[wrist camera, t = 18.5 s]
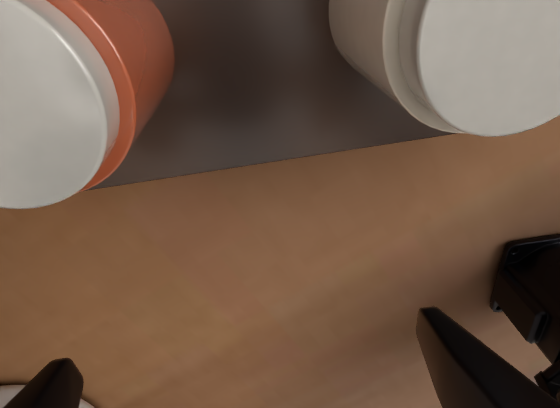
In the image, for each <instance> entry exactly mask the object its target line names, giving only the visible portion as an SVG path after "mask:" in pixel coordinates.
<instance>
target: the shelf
mask: <svg viewBox="0 0 560 408" xmlns="http://www.w3.org/2000/svg"><path fill="white" fill-rule="evenodd" d="M152 1H153V3H154V4H155V5H156V7H157V8H158V9H159V11H160V13H161V14H162V16H163V18H164V20H165V22H166V24H167V26H168V29H169V31H170V34H171V38H172V41H173V46H174V55H175V67H174V74H173V79H172V82H171V85H170V87H169V89H168V91H167V93H166V95H165V96H164V98H163V100H162V101H161V103H160V104H159V106H158V107H157V109H156V111H155V112H154V114H153V115H152V117H151V118H150V120H149V121H148V123H147V125H146V126H145V128H144V129H143V131H142V132H141V134H140V136H139V137H138V139H137V140H136V142H135V143H134V145H133V146H132V148H131V150H130V151H129V153H128V154H127V156H126V157H125V159H124V160H123V162H122V163H121V164H120V166H119V167H118V168H117V169H116V170H115V171H114V172H113V173H112V174H111V175H110V176H109V177H108V178H106V179H105V180H104V181H102V182H101V183H99V184H97V185H95V186H93V187H91V188H90V189H87V190H92V189H98V188H105V187H111V186H118V185H125V184H131V183H138V182H144V181H151V180H157V179H164V178H170V177H177V176H183V175H190V174H196V173H203V172H209V171H216V170H222V169H229V168H235V167H242V166H248V165H255V164H261V163H268V162H274V161H281V160H287V159H294V158H300V157H307V156H313V155H320V154H326V153H333V152H339V151H346V150H352V149H359V148H365V147H372V146H378V145H385V144H391V143H398V142H404V141H411V140H417V139H424V138H430V137H437V136H443V135H450V134H456V133H451V132H445V131H440V130H438V129H435V128H432V127H429V126H427V125H425V124H424V123H422V122H420V121H418V120H417V119H416V118H414V117H413V116H412V115H410V114H409V113H408V112H407V111H406V110H404V109H403V108H402V107H401V106H399V105H398V104H397V103H396V102H394V101H393V100H392V99H391V98H390V97H388V96H387V95H386V94H385V93H383V92H382V91H381V90H380V89H378V88H377V87H376V86H375V85H373V84H372V83H371V82H370V81H369V80H367V79H366V78H365V77H364V76H362V75H361V74H360V73H359V72H357V71H356V70H355V69H354V68H353V67H351V66H350V65H349V64H348V63H347V62H346V61H345V59H344V58H343V57H342V55H341V54H340V53H339V51H338V49H337V47H336V45H335V43H334V40H333V37H332V34H331V29H330V24H329V0H152ZM84 191H85V190H84Z"/></svg>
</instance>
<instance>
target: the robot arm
mask: <svg viewBox="0 0 560 408" xmlns="http://www.w3.org/2000/svg"><path fill="white" fill-rule="evenodd" d="M490 307H491V309H492V310H493V311H494V312H502V311H503V312H504V313H505V314H506V316H507V317H508V318H509V319H510V321H511V322H512V323H513V325H514V326H515V327H516V328H517V330H518V331H519V332H520V334H521V335H522V336H523V337H524V339H525V340H526V341H527V342H529V343H535V344H536V345H537V346H538V347H539V349H540V350H541V351H542V352H543V354H544V355H545V356H546V357H547V359H548V360H549V361H550V362H551V364H552V365H551V366H550V367H548V368H547V369H546V370H545V371H543V372H542V371H540V372H539V373H538V374H537V375H535V376H534V378H535V380H536V382H537V384H538V386H537V385H536V384H535V383H534V382H532V381H531V380H530V379H528V378H527V377H526V376H525V375H523V374H522V373H521V372H519V371H518V370H517V369H516V368H514V367H513V366H512V365H510V364H509V363H508V362H507V361H505V360H504V359H503V358H501V357H500V356H499V355H498V354H496V353H495V352H494V351H492V350H491V349H490V348H489V347H487V346H486V345H485V344H483V343H482V342H481V341H480V340H478V339H477V338H476V337H475V336H473V335H472V334H471V333H469V332H468V331H467V330H466V329H464V328H463V327H462V326H460V325H459V324H458V323H457V322H455V321H454V320H453V319H451V318H450V317H449V316H448V315H446V314H445V313H444V312H442V311H441V310H440V309H439V308H437V307H435V306H431V307H424V308H420V309H419V311H418V317H417V325H416V334H417V338H418V341H419V344H420V347H421V350H422V353H423V356H424V359H425V361H426V364H427V367H428V370H429V373H430V376H431V379H432V382H433V385H434V387H435V390H436V393H437V396H438V398H439V400H440V403H441V405H442V407H443V408H560V234H556V235H550V236H544V237H537V238H531V239H525V240H518V241H512V242H510V243H508V244H507V245H506V246H505V247H504V251H503V255H502V258H501V262H500V266H499V270H498V274H497V278H496V282H495V286H494V290H493V293H492V297H491V301H490ZM83 383H84V382H83V377H82V375H81V373H80V372H79V370H78V368H77V367H76V365H75V364H74V362H73V361H72V360H71V359H70V358H62V359H56V360H53V361H51V362H49V363H48V364H47V365H46V366H45V367H44V368H43V369H42V370H41V371H40V372H39V373H38V374H37V375H36V376H35V377H34V378H33V379H32V380H31V381H30V382H29V383H28V384H27V385H26V386H25V387H24V388H23V389H22V390H20V391H19V392H18V393H17V394H16V395H15V396H14V397H13V398H12V399H11V400H10V401H9V402H8V403H7V404H6V405H5V406H4V407H3V408H79V405H80V400H81V395H82V390H83Z"/></svg>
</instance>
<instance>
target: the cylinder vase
mask: <svg viewBox="0 0 560 408" xmlns="http://www.w3.org/2000/svg"><path fill="white" fill-rule="evenodd" d="M25 386H26V385H5V386H0V408H3V407H4V406H5V405H6V404H7V403H8V402H9V401H10V400H11V399H12V398H13V397H14V396H15V395H16V394H17V393H18V392H19V391H20V390H22V389H23V388H24V387H25ZM79 408H95V407H94V406H92V405H91V404H89V403H88V402H86V401H84V400H83V399H81V400H80V405H79Z"/></svg>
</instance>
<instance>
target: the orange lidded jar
mask: <svg viewBox="0 0 560 408" xmlns="http://www.w3.org/2000/svg"><path fill="white" fill-rule="evenodd" d="M174 67H175V55H174V46H173V41H172V38H171V34H170V31H169V29H168V26H167V24H166V22H165V20H164V18H163V16H162V14H161V13H160V11H159V9H158V8H157V7H156V5H155V4H154V3H153V1H152V0H0V208H8V209H28V208H38V207H42V206H47V205H51V204H54V203H57V202H60V201H63V200H65V199H67V198H69V197H71V196H73V195H74V194H76V193H78V192H81V191H84V190H87V189H90V188H91V187H93V186H95V185H97V184H99V183H101V182H102V181H104V180H105V179H106V178H108V177H109V176H110V175H111V174H112V173H113V172H114V171H115V170H116V169H117V168H118V167H119V166H120V164H121V163H122V162H123V160H124V159H125V157H126V156H127V154H128V153H129V151H130V150H131V148H132V146H133V145H134V143H135V142H136V140H137V139H138V137H139V136H140V134H141V132H142V131H143V129H144V128H145V126H146V125H147V123H148V121H149V120H150V118H151V117H152V115H153V114H154V112H155V111H156V109H157V107H158V106H159V104H160V103H161V101H162V100H163V98H164V96H165V95H166V93H167V91H168V89H169V87H170V85H171V82H172V79H173V74H174Z"/></svg>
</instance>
